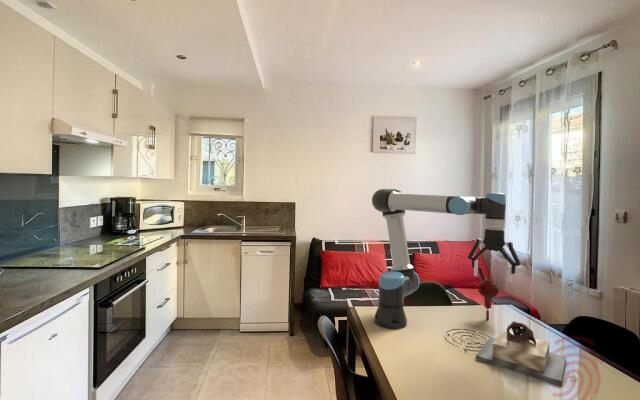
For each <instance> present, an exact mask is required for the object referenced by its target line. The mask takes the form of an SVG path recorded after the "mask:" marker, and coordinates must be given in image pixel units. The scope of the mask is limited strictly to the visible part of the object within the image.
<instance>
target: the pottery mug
mask: <svg viewBox="0 0 640 400" xmlns="http://www.w3.org/2000/svg"><path fill="white" fill-rule="evenodd" d="M510 330H511V331H512V332H511V331H510ZM506 332H507V336H506V337H507V341H508V342H510V341H511V342H517V343H519V342H524V341H527V342H529V340H531V341H533V342H534V344H535V345H536V340H535V339H536V338H535V336H534V332H533V330H532V329H531V328H530V327H528V325H526V324H525V323H522V322H517V321H512V322H511V323H510V324H508V326H507V327H506ZM511 333H513V334H514V335H513V334H511Z"/></svg>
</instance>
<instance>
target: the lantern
mask: <svg viewBox="0 0 640 400" xmlns="http://www.w3.org/2000/svg"><path fill="white" fill-rule="evenodd" d="M477 290H478V291H477V292H479V294H480V295H481V296H482V297H483V298H484V300H483V301H484V303H483V306H484V308H485V309H486V310H485V320H487V321H490V317H489V316H490V310H489V309H491V308H492V300H493V298H496V297H497V296H498V295H499V291H500V290H499V286H498V284H497V283H496V282H494V281H493V279H491V278H490V272H488V277H487V278H485V279H484V280H483V281H481V282H479V284H478V286H477Z"/></svg>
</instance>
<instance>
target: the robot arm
mask: <svg viewBox="0 0 640 400" xmlns="http://www.w3.org/2000/svg"><path fill="white" fill-rule="evenodd" d="M506 198H507V197H506V194H505V193H503V192H487V193H486V194H485V196H468V195H467V196H463V195H462V196H460V195H458V196H457V195H437V194H433V195H432V194H413V193H404V192H403V191H401V190H399V189H395V188H392V189H391V188H390V189H389V188H380V189H378V190H376V191H375V192H374V193H373V195H372V198H371V204H372V207H373V208H374V209H375V210H376V211H378V212H381V213H382V218H384V219H385V220H386V228H387V232H388V241H389V246H390V253H391V261H392V266H391V268H390V270H389V271H384V272H382V273H381V274H380V275H379V278H378V279H379V280H378V306H377V308H376V311H375V315H374V324H376V325H377V326H379V327H382V328H386V329H403V328H405V327H407V325H408V319H407V315H406V312H405V308H404V305H405V304H404V303H405V302H404V298H405V297H407V296H409V295H411V294H413V293H414V292H416V291H417V290H418V288H419V287H420V282H421V281H420V277H419V274H418V273H417V272H416V271H415V268H414V266H413V265H412V264H411V261H410V255H409V249H408V242H407V233H406V228H405V222H404V216H405V215H406V211H413V212H425V213H437V214H439V213H440V214H451V215H456V216H464V215H484V216H485V217H484V218H485V219H484V236H483V239H481V238H479V237H478V238H476V240H475V244H474V246H473V247H472V249H471V250H470V252H469V254H468V256H467V259H470V260H471V268H472V269H473V276H474V277H477V276H478V269H479V268H478V267H479V266H478V265H479V260H477V259H478V258H480V257H481V256H482V255H483V254H484V253H485V252H486V251H491V252H492V251H494V252H500V254H501V255H503V257H504V258H505V259H506V261H507V262H508V263H509V264H510V265H509V266H508V267H509V269H508V283H512V282H513V275H515V274H516V267H518V266H521V264H522V263H521V260H520V258H519V257H518V255H517V253H516V251H515V248H514V243H513V241H505V229H506V207H507V200H506ZM482 243H483V245H484V247H483V248H481V249H480V251H478V252H477V253H476V251H477V250H478V248H479V246H480V245H481V244H482ZM504 246H506V247H507V248H508V250H509V253H510V254H511V255H510V254H508V252H507V251H506V250H505V248H504ZM475 253H476V254H475ZM474 254H475V255H474ZM512 258H513V259H512Z"/></svg>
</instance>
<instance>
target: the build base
mask: <svg viewBox="0 0 640 400" xmlns="http://www.w3.org/2000/svg"><path fill="white" fill-rule="evenodd" d="M510 333H511V334H513V332H510ZM513 335H514V334H513ZM506 336H507V330H502V331H500V333H499V334H498V336H497V337H496V338H495V337H492V336H489V337H488V339H487V341H486V342H485V343H484V344H483V345H482V347H481V348H480V349H479V351H478V352H477V354H476V355H475V360H476V359H477V360H476V361H479V360H481V361H480V362H483V361H484V362H483V363H486V364H490V365H493V366H497V367H499V368H503V369H506V370H508V371H509V370H510V371H512V372H515V373H519V374H521V375H526V376H529V377H532V378H535V379H539V380H542V381H544V382H548V383H552V384H554V385H559V386H562V383H563V378H564V373H565V367H566V362H567V361H566V360H567V357H566V356H564V355H562V354H561V355H560V354H556V353H553V352H550V341H546V340H543V339H538V338H535V340H536V345H535V344H534V342H533V341H531V340H529V342H527V341H524V342H519V343H517V342H511V341H510V342H508V341H507V337H506Z"/></svg>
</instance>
